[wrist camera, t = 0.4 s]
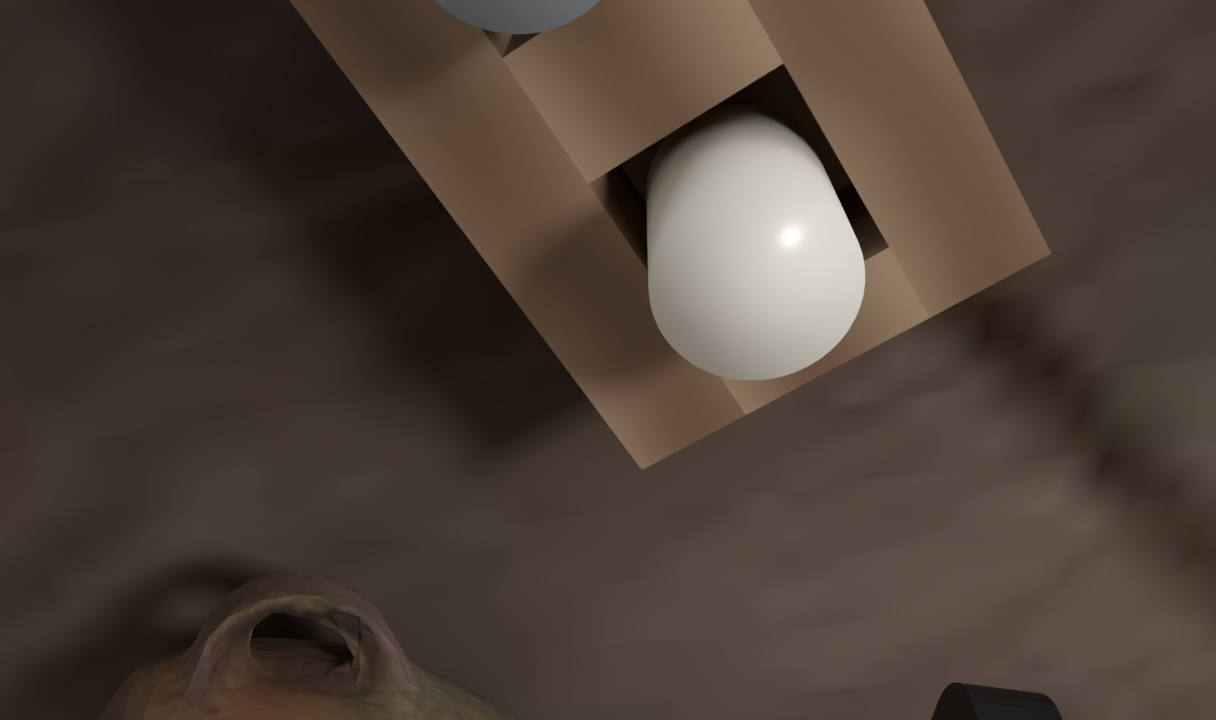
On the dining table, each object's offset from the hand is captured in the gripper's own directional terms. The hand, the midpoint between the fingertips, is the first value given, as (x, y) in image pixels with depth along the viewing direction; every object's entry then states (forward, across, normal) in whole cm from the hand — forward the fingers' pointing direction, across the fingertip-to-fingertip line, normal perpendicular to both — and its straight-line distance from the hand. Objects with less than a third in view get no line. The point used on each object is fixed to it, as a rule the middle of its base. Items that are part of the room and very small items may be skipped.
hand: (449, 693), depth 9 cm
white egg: (+21, -4, +2) cm, 22 cm away
